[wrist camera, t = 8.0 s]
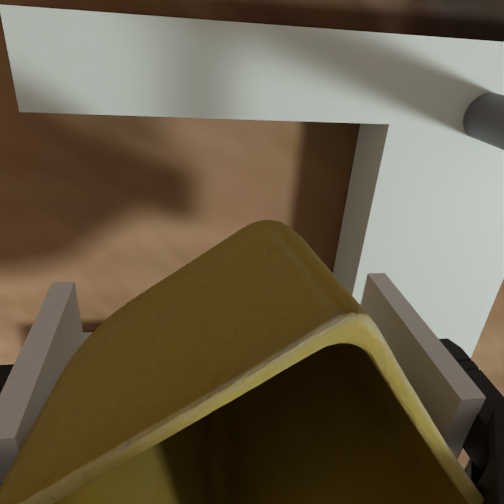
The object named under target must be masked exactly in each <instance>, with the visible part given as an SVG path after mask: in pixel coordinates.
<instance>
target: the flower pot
mask: <svg viewBox="0 0 504 504" xmlns="http://www.w3.org/2000/svg"><path fill="white" fill-rule="evenodd" d="M483 501H484V497H483V496H482V495H481V493H480V492H479V491H478V489H477V488H476V486H475V485H474V484H473V482H472V481H471V480H470V478H469V477H468V475H467V474H466V472H465V471H464V469H463V468H462V466H461V465H460V464H459V462H458V461H457V459H456V457H455V456H454V454H453V453H452V451H451V450H450V448H449V447H448V445H447V444H446V442H445V441H444V439H443V437H442V435H441V434H440V432H439V431H438V429H437V428H436V426H435V424H434V423H433V421H432V419H431V417H430V416H429V414H428V412H427V411H426V409H425V407H424V406H423V404H422V402H421V401H420V399H419V397H418V395H417V394H416V392H415V391H414V389H413V387H412V386H411V384H410V383H409V381H408V379H407V378H406V376H405V374H404V372H403V370H402V369H401V367H400V365H399V364H398V362H397V360H396V358H395V357H394V355H393V353H392V351H391V350H390V348H389V346H388V344H387V343H386V341H385V339H384V337H383V336H382V334H381V332H380V331H379V329H378V327H377V325H376V324H375V322H374V321H373V320H372V319H371V317H370V316H369V315H368V314H367V312H366V311H365V310H364V309H363V308H362V306H361V305H360V304H359V303H358V302H357V301H356V300H355V298H354V297H353V296H352V295H351V294H350V293H349V292H348V290H347V289H346V288H345V287H344V286H343V285H342V284H341V282H340V281H339V280H338V279H337V278H336V277H335V275H334V274H333V273H332V272H331V271H330V270H329V269H328V267H327V266H326V265H325V264H324V263H323V262H322V260H321V259H320V258H319V257H318V256H317V255H316V253H315V252H314V251H313V250H312V249H311V247H310V246H309V245H308V244H307V243H306V242H305V240H304V239H303V238H302V237H301V236H300V235H299V234H298V233H296V232H295V231H294V230H293V229H292V228H290V227H289V226H287V225H285V224H283V223H281V222H278V221H273V220H263V221H258V222H255V223H252V224H250V225H247V226H246V227H244V228H242V229H241V230H239V231H238V232H236V233H234V234H233V235H231V236H230V237H228V238H227V239H225V240H224V241H222V242H221V243H219V244H218V245H216V246H214V247H213V248H211V249H210V250H208V251H207V252H205V253H204V254H202V255H201V256H199V257H198V258H196V259H195V260H193V261H192V262H190V263H188V264H187V265H185V266H184V267H182V268H181V269H179V270H178V271H176V272H174V273H173V274H171V275H170V276H168V277H166V278H165V279H163V280H162V281H160V282H159V283H157V284H156V285H154V286H152V287H151V288H149V289H148V290H146V291H145V292H143V293H142V294H140V295H139V296H137V297H136V298H134V299H133V300H131V301H130V302H128V303H127V304H125V305H124V306H123V307H121V308H120V309H119V310H117V311H116V312H115V313H113V314H112V315H111V316H110V317H109V318H108V319H107V320H105V321H104V322H103V323H102V324H101V325H100V326H99V327H98V328H97V329H96V330H95V331H94V332H93V333H92V334H91V335H90V336H89V337H88V338H87V339H86V340H85V342H84V343H83V344H82V345H81V346H80V347H79V349H78V350H77V351H76V353H75V354H74V355H73V357H72V358H71V359H70V361H69V363H68V364H67V366H66V367H65V369H64V370H63V372H62V374H61V375H60V377H59V379H58V381H57V383H56V384H55V386H54V388H53V390H52V392H51V394H50V396H49V397H48V399H47V401H46V403H45V405H44V406H43V408H42V410H41V412H40V414H39V416H38V417H37V419H36V421H35V423H34V425H33V426H32V428H31V430H30V432H29V434H28V436H27V438H26V440H25V441H24V443H23V445H22V447H21V449H20V451H19V453H18V455H17V456H16V458H15V460H14V462H13V464H12V466H11V468H10V469H9V471H8V473H7V475H6V477H5V479H4V481H3V483H2V484H1V486H0V504H482V503H483Z"/></svg>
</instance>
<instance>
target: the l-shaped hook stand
mask: <svg viewBox="0 0 504 504" xmlns="http://www.w3.org/2000/svg"><path fill="white" fill-rule="evenodd" d="M0 14H1V20H2V25H3V30H4V35H5V40H6V46H7V51H8V56H9V61H10V67H11V72H12V77H13V82H14V87H15V93H16V98H17V103H18V108H19V112H32V113H62V114H92V115H123V116H153V117H183V118H213V119H243V120H273V121H303V122H333V123H360V127H359V133H358V138H357V144H356V149H355V155H354V160H353V166H352V171H351V177H350V182H349V188H348V193H347V199H346V204H345V209H344V215H343V220H342V226H341V231H340V237H339V242H338V248H337V253H336V259H335V264H334V270H333V274H334V275H335V277H336V278H337V279H338V280H339V281H340V282H341V284H342V285H343V286H344V287H345V288H346V289H347V290H348V292H349V293H350V294H351V295H352V296H353V297H354V298H355V300H356V301H357V302H358V303H359V304H361V300H362V296H363V291H364V287H365V283H366V278H367V274H368V273H385V274H386V275H387V276H388V277H389V279H390V280H391V281H392V282H393V284H394V285H395V286H396V287H397V288H398V290H399V291H400V292H401V293H402V295H403V296H404V297H405V298H406V300H407V301H408V302H409V303H410V304H411V306H412V307H413V308H414V309H415V311H416V312H417V313H418V314H419V316H420V317H421V318H422V319H423V320H424V322H425V323H426V324H427V325H428V327H429V328H430V329H431V330H432V332H433V333H434V334H435V335H436V336H437V338H438V339H447V338H448V339H449V340H451V341H452V342H454V343H455V344H457V345H458V346H459V347H461V348H462V349H463V350H464V351H465V353H466V354H467V355H468V356H469V357H470V358H471V356H472V354H473V351H474V349H475V346H476V344H477V342H478V339H479V337H480V334H481V332H482V329H483V327H484V325H485V322H486V320H487V317H488V315H489V312H490V310H491V308H492V305H493V303H494V300H495V298H496V295H497V293H498V291H499V288H500V286H501V283H502V281H503V278H504V42H501V41H487V40H474V39H460V38H447V37H433V36H420V35H406V34H393V33H379V32H366V31H352V30H338V29H325V28H311V27H298V26H284V25H271V24H257V23H244V22H230V21H217V20H203V19H190V18H176V17H163V16H149V15H136V14H122V13H109V12H95V11H82V10H68V9H55V8H41V7H28V6H14V5H1V4H0ZM92 333H93V332H83V336H84V342H85V340H86V339H87V338H88V337H89V336H90V335H91V334H92ZM84 342H83V343H84Z"/></svg>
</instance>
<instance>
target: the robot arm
mask: <svg viewBox="0 0 504 504" xmlns="http://www.w3.org/2000/svg"><path fill="white" fill-rule="evenodd" d="M360 305H361V306H362V308H363V309H364V310H365V311H366V312H367V314H368V315H369V316H370V317H371V319H372V320H373V321H374V322H375V324H376V325H377V327H378V329H379V331H380V332H381V334H382V336H383V337H384V339H385V341H386V343H387V344H388V346H389V348H390V350H391V351H392V353H393V355H394V357H395V358H396V360H397V362H398V364H399V365H400V367H401V369H402V370H403V372H404V374H405V376H406V378H407V379H408V381H409V383H410V384H411V386H412V387H413V389H414V391H415V392H416V394H417V395H418V397H419V399H420V401H421V402H422V404H423V406H424V407H425V409H426V411H427V412H428V414H429V416H430V417H431V419H432V421H433V423H434V424H435V426H436V428H437V429H438V431H439V432H440V434H441V435H442V437H443V439H444V441H445V442H446V444H447V445H448V447H449V448H450V450H451V451H452V453H453V454H454V456H455V457H456V459H458V457H459V455H460V453H461V450H462V448H464V450H465V451H466V453H467V454H468V456H469V457H470V459H469V461H468V463H467V465H466V467H465V469H464V471H465V472H466V474H467V475H468V477H469V478H470V480H471V481H472V482H473V484H474V485H475V486H476V488H477V489H478V491H479V492H480V493H481V495H482V496H483V497H484V501H483V503H482V504H504V397H503V396H502V395H501V393H500V392H499V391H498V390H497V389H496V388H495V386H494V385H493V384H492V383H491V382H490V381H489V379H488V378H487V377H486V376H485V375H484V374H483V372H482V371H481V370H479V369H478V367H477V365H476V364H475V363H474V362H473V361H471V358H470V357H469V356H468V355H467V354H466V353H465V351H464V350H463V349H462V348H461V347H459V346H458V345H457V344H455V343H454V342H452V341H451V340H449V339H448V338H447V339H438V338H437V336H436V335H435V334H434V333H433V332H432V330H431V329H430V328H429V327H428V325H427V324H426V323H425V322H424V320H423V319H422V318H421V317H420V316H419V314H418V313H417V312H416V311H415V309H414V308H413V307H412V306H411V304H410V303H409V302H408V301H407V300H406V298H405V297H404V296H403V295H402V293H401V292H400V291H399V290H398V288H397V287H396V286H395V285H394V284H393V282H392V281H391V280H390V279H389V277H388V276H387V275H386V274H385V273H368V274H367V278H366V283H365V287H364V291H363V296H362V300H361V304H360ZM83 342H84V336H83V330H82V324H81V318H80V312H79V305H78V299H77V293H76V287H75V282H52V284H51V287H50V289H49V291H48V293H47V295H46V297H45V299H44V302H43V304H42V306H41V308H40V310H39V312H38V314H37V317H36V319H35V321H34V323H33V325H32V327H31V329H30V332H29V334H28V336H27V338H26V340H25V342H24V344H23V347H22V349H21V351H20V353H19V355H18V357H17V359H16V362H15V364H13V365H0V486H1V484H2V483H3V481H4V479H5V477H6V475H7V473H8V471H9V469H10V468H11V466H12V464H13V462H14V460H15V458H16V456H17V455H18V453H19V451H20V449H21V447H22V445H23V443H24V441H25V440H26V438H27V436H28V434H29V432H30V430H31V428H32V426H33V425H34V423H35V421H36V419H37V417H38V416H39V414H40V412H41V410H42V408H43V406H44V405H45V403H46V401H47V399H48V397H49V396H50V394H51V392H52V390H53V388H54V386H55V384H56V383H57V381H58V379H59V377H60V375H61V374H62V372H63V370H64V369H65V367H66V366H67V364H68V363H69V361H70V359H71V358H72V357H73V355H74V354H75V353H76V351H77V350H78V349H79V347H80V346H81V345H82V344H83Z"/></svg>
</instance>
